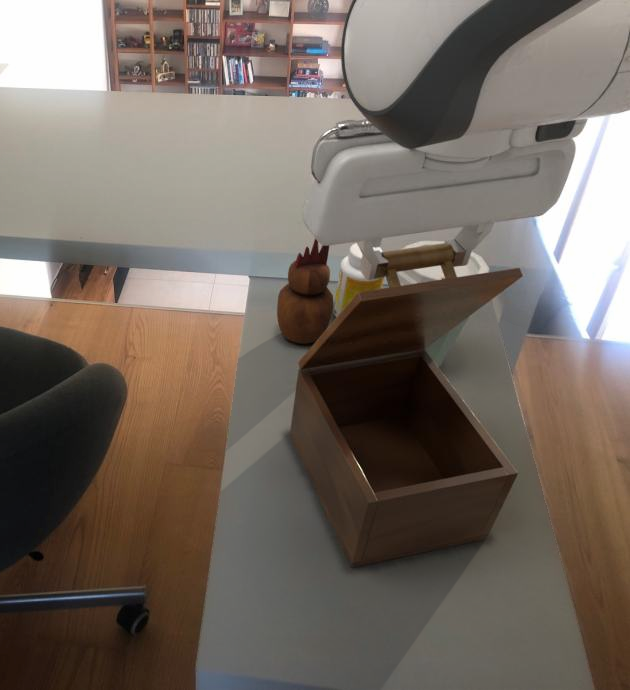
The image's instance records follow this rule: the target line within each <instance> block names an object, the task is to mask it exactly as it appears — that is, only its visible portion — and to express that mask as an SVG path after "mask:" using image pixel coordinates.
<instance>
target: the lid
mask: <svg viewBox="0 0 630 690" xmlns="http://www.w3.org/2000/svg"><path fill="white" fill-rule="evenodd" d="M381 254H382V257H385V259H386V260H387V261H388V267H387V269H386V270H385V272H386V275H385V279H386V282H387V285H388V287H382V289H376V290H369V291H363V292H358V293H357V294H356V295H355V297H354V298H353V299H352V300H351V301H350V302H349V304H348V305H347V306H346V307H345V308H344V309H343V311H342V312H341V313H340V314H339V315H338V317H337V318H336V317H335V318H334V320H333V321H332V322H331V323H330V324H329V325H328V327H327V329H326V331H325V332H324V333H323V334H322V335H321V336H320V338H319V339H318V340H317V341H315V342H313V345H312V346H311V347H310V348H309V349H308V350H307V352H305V354H304V355H303V356H302V357H301V358H300V360H298V362H297V364H298V367H299V370H301V369H307V368H313V367H319V366H325V365H331V364H337V363H343V362H349V361H355V360H361V359H367V358H373V357H379V356H385V355H391V354H397V353H403V352H409V351H415V350H421V349H426V348H428V347H429V346H430V345H432V344H433V343H434V342H436V341H437V340H438V339H440V338H441V337H442V336H444V335H445V334H446V333H448V332H449V331H450V330H452V329H453V328H454V327H456V326H457V325H458V324H460V323H461V322H462V321H464V320H465V319H466V318H468V317H469V318H470V317H471V316H472V315H473V314H475V313H476V312H477V311H478V310H480V309H481V308H483V307H484V306H485V305H486V304H488V303H490V301H492V300H493V299H494V298H496V297H497V296H499V295H500V294H501V293H503V292H504V291H505V290H506V289H508V288H509V287H511V286H512V285H513V284H515V283H516V282H517V281H519V280H520V279H521V278H523V273H522V270H521V268H520V267H515V268H509V269H502V270H495V271H489V272H488V273H481V274H475V275H468V276H462V277H457V275H456V273H455V270H454V267H453V264H452V262H453V259H454V251H453V247H452V246H451V244H449V243H442V244H435V245H428V246H421V247H414V248H407V249H402V248H400V249H394V250H387V251H382V252H381ZM434 266H441V268H442V271H443V274H444V277H445V279H442V280H435V281H429V282H422V283H415V284H409V285H402V286H401V285H400V282H399V279H398V276H397V272H400V271H407V270H414V269H420V268H427V267H434ZM469 318H468V319H469Z"/></svg>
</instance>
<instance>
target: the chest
mask: <svg viewBox="0 0 630 690" xmlns="http://www.w3.org/2000/svg"><path fill="white" fill-rule="evenodd" d="M289 437H290V439H291V441H292V443H293V446H294V448H295V450H296V452H297V454H298V457H299V458H300V461H301V463H302V465H303V467H304V470H305V471H306V473H307V476H308V478H309V480H310V482H311V485H312V487H313V489H314V491H315V493H316V495H317V497H318V499H319V502H320V504H321V506H322V508H323V511H324V513H325V515H326V517H327V519H328V521H329V524H330V525H331V528H332V530H333V532H334V534H335V537H336V539H337V540H338V543H339V545H340V547H341V549H342V552H343V553H344V556H345V558H346V560H347V562H348V564H349V567H350V568H357V567H361V566H366V565H370V564H371V565H372V564H376V563H380V562H385V561H390V560H394V559H400V558H403V557H408V556H412V555H417V554H422V553H427V552H432V551H437V550H441V549H445V548H446V549H447V548H451V547H455V546H459V545H464V544H468V543H469V544H470V543H473V542H478V541H482V540H487V539H488V537H489V534H490V533H491V531H492V529H493V527H494V525H495V522H496V520H497V518H498V517H499V514H500V512H501V511H502V508H503V506H504V504H505V502H506V500H507V498H508V496H509V494H510V491H511V489H512V487H513V485H514V483H515V481H516V479H517V477H518V475H519V471H517V469H516V468H515V466H514V465H513V464H512V462H511V461H510V460H509V459H508V458H507V456H506V455H505V454H504V452H503V451H502V449H501V448H500V447H499V446H498V444H497V443H496V441H495V440H494V439H493V437H492V436H491V435H490V434H489V432H488V431H487V429H486V428H485V427H484V426H483V425H482V423H481V422H480V421H479V419H478V418H477V416H476V415H475V414H474V412H473V411H472V410H471V409H470V407H469V406H468V405H467V403H466V402H465V400H464V399H463V398H462V397H461V395H460V394H459V393H458V391H457V390H456V389H455V388H454V386H453V385H452V383H451V382H450V381H449V379H448V378H447V377H446V375H445V374H444V373H443V372H442V370H441V369H440V367H438V366H437V365H436V364H435V362H434V361H433V360H432V359H431V357H430V356H429V355H428V353H427V352H426V351H425V349H421V350H415V351H409V352H403V353H397V354H391V355H385V356H379V357H373V358H367V359H361V360H355V361H349V362H343V363H337V364H331V365H325V366H319V367H313V368H307V369H301V370H300V369H298V371H297V378H296V387H295V394H294V401H293V408H292V417H291V423H290V431H289Z"/></svg>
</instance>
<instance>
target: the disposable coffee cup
mask: <svg viewBox="0 0 630 690" xmlns="http://www.w3.org/2000/svg"><path fill="white" fill-rule="evenodd" d="M442 243H445V241H444V240H419V241H417V242H414V243H410V244H406V245H405V246H404V247H402V248H401V249H407V248H414V247H421V246H428V245H435V244H442ZM454 270H455V273H456V275H457V277H462V276H468V275H475V274H481V273H488V272H490V267H489V266H488V264H487V263H486V262H485V260H484V259H483V257H482V256H481V255H479V254H477V253H475V252H474V251H472V252H471V255H470V258H469V261H468V264H467V265H465V266H458V267H454ZM397 276H398V279H399V282H400V285H401V286H402V285H409V284H415V283H422V282H429V281H435V280H442V279H445V277H444V274H443V271H442V268H441V266H434V267H427V268H420V269H414V270H407V271H400V272H397ZM469 318H470V316H469V317H468V318H466V319H465V320H464V321H462V322H461V323H460V324H458V325H457V326H456V327H454V328H453V329H452V330H450V331H449V332H448V333H446V334H445V335H444V336H442V337H441V338H440V339H438V340H437V341H436V342H434V343H433V344H432V345H430V346H429V347H428V348H426V349H425V351H426V352H427V353H428V355H429V356H430V357H431V359H432V360H433V361H434V362H435V364H436V365H437V366H438V368H440V367H441V366H442V364H443V362H444V361H445V358H446V357H447V355H448V353H449V352H450V350H451V348H452V347H453V345H454V344H455V342H456V340H457V339H458V337H459V335H460V333H461V332H462V330H463V328H464V326H465V325H466V323H467V321H468V319H469Z"/></svg>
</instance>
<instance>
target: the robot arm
mask: <svg viewBox="0 0 630 690" xmlns="http://www.w3.org/2000/svg"><path fill="white" fill-rule="evenodd" d="M351 1H352V2H351V3H350V6H349V8H348V11H347V14H346V17H345V21H344V25H343V30H342V31H343V32H342V35H341V36H342V37H341V47H340V56H341V57H340V61H341V72H342V78H343V82H344V85H345V88H346V92H347V93H348V96H349V98H350V100H351V101H352V103H353V105H354V106H355V108H357V110H358V111H359V112H360V113H361V115H362V116H363V117H364V119H359V120H355V119H345V120H344V119H343V120H340V121H338V122H336V123H335V124H334V127H332V128H330V129H328V130H325V132H324V133H322V134H321V135H320V136H319V137H317V139H316V140H315V141H314V143H313V147H312V154H311V160H310V161H311V162H310V176H309V179H308V183H307V186H306V190H305V194H304V199H303V204H302V209H301V218H302V222H303V225H304V226H305V227H306V230H307V231H308V232H309V233H310V235H311V236H312V237H313V238H314V240H315V239H316V240H317V241H318V244H320V245H321V246H322V245H324V246H329V247H330V246H334V245H335V246H336V245H344V244H351V243H357V244H358V246H359V248H360V250H361V252H362V254H363V255H362V260H361V265H360V270H361V273H362V274H363V276H364V277H365V278H366V280H371V279H378V278H384V279H385V278H386V276H385V275H386V272H385V270H386V269H387V267H388V261H387V260H386V259H385V257H382V254H381V252H380V251H379V250H377V251H374V250H373V247H374V248H377V247H380V248H381V244H382V241H383V239H386V238H393V237H399V236H400V237H401V236H406V235H414V234H421V233H428V232H429V233H430V232H435V231H443V230H450V229H456V228H457V229H458V228H461V229H460V230H459V232H458V233H457V234H456V236H455V237H454V239H448V240H447V239H446V240H445V241H444V242H445V243H449V244H451V246H452V247H453V251H454V259H453V262H452V264H453V267H458V266H465V265H467V264H468V261H469V258H470V255H471V252H473V250H475V249H476V248H477V246H479V245H480V244H481V243H482V242H483V240H484V239H486V238H487V236H489V234H491V233H492V230H493V227H494V224H495V223H499V222H507V221H514V220H520V219H521V220H522V219H529V218H537V217H541V216H544V215H545V214H546V213H547V212H549V211H550V210H551V209H552V208H553V207H554V206H555V205H556V204H557V203H558V201H559V199H560V197H561V195H562V193H563V191H564V189H565V186H566V183H567V181H568V178H569V175H570V172H571V169H572V166H573V163H574V160H575V157H576V151H577V150H576V149H577V146H576V142H575V138H577V137H578V136H580V134H581V133H582V132H583V130H584V128H585V127H586V124H587V122H588V119H593V118H600V117H607V116H612V115H617V114H623V113H625V112H629V111H630V0H351Z"/></svg>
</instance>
